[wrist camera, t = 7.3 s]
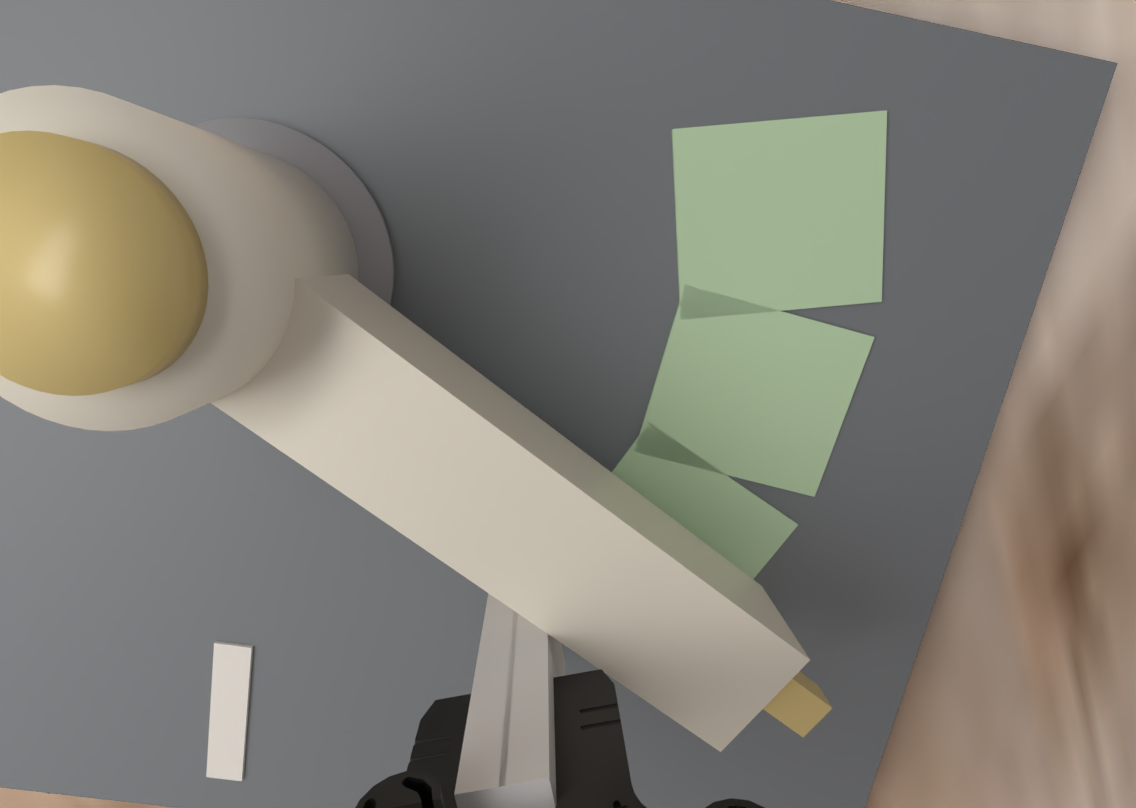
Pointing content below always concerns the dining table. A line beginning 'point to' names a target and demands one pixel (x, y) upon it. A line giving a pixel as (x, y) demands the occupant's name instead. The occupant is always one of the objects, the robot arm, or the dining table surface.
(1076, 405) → the dining table surface
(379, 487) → the peg lever
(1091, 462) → the dining table surface
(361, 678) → the board
